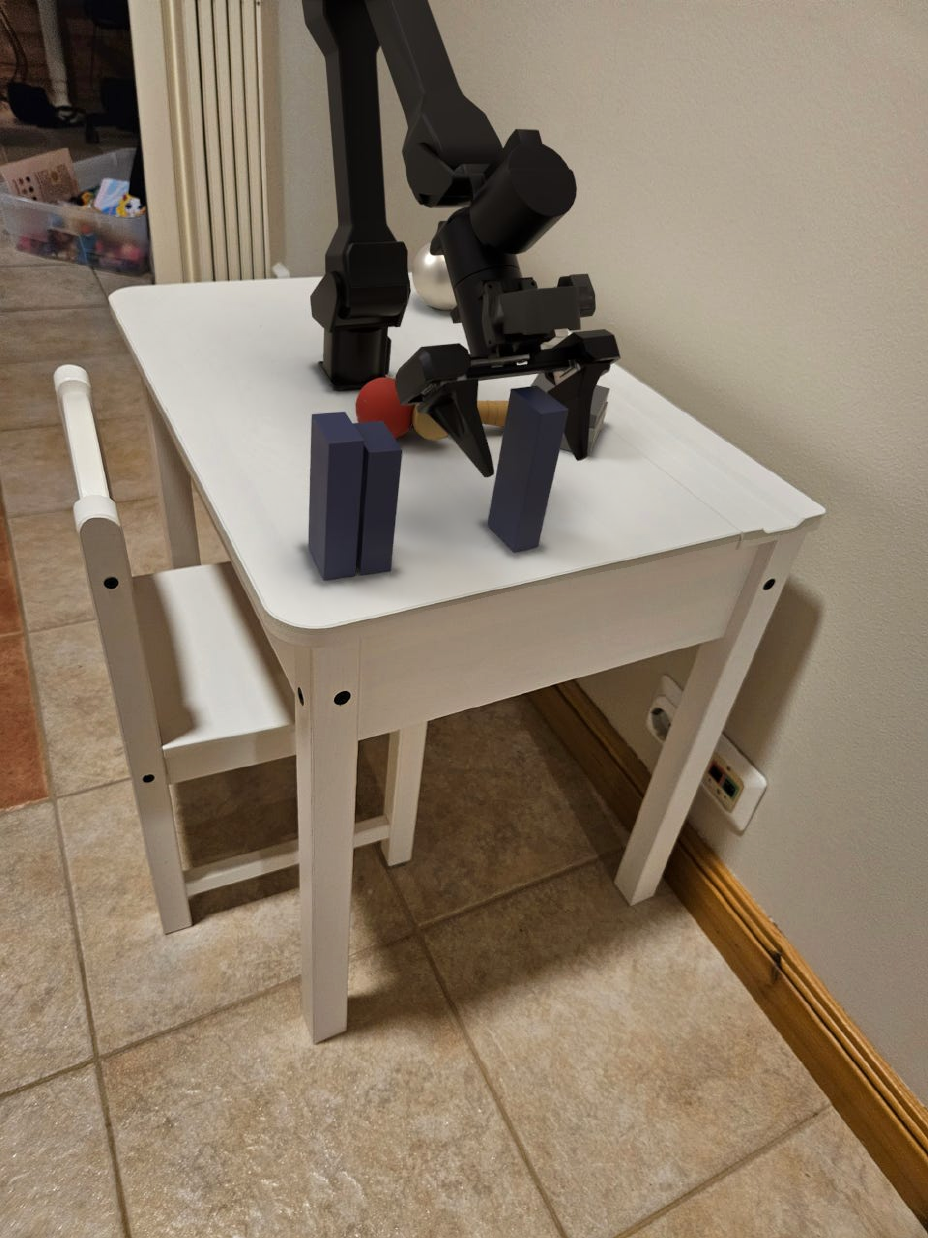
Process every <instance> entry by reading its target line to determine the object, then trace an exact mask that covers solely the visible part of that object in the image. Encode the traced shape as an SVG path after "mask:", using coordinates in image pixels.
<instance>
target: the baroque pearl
mask: <svg viewBox="0 0 928 1238" xmlns="http://www.w3.org/2000/svg"><path fill="white" fill-rule="evenodd" d="M430 245H431V241H429V242H428V243H426V244H425V245H423V246H422V248H421V249H420V250H419V251H418V252H417V254H416V255H415V258H414V261H413V263H412V268H411V279H412V284H413V287H414V290H415V292H416V294H417V295H418V297H419V298H420V299H421V300H422V301H423V302H424V303H425V304H427V305H428V306H429V307H432V308H434V309H438V310H443V311H445V310H446V311H447V310H448V311H451V310H453V309H454V308H455V307H456V306H457V303H456V300H455V296H454V292H453V289H452V285H451V281H450V278H449V274H448V270H447V266H446V263H445V259H444V255H439V256H432V255H431V254H430Z"/></svg>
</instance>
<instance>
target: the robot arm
mask: <svg viewBox="0 0 928 1238" xmlns="http://www.w3.org/2000/svg"><path fill="white" fill-rule="evenodd" d="M301 6H302V13H303V20H304V24H305V25H304V26H305V27H306V28H307V30H308V32H309V33H310V35H311V37H312V38H313V40H314V42H315V44H316V45H317V47H318V48H319V51H320V52H321V54H322V55H323V58H324V62H325V75H326V86H327V87H326V88H327V100H328V101H327V102H328V111H329V112H328V113H329V125H330V137H331V148H332V149H331V150H332V151H331V152H332V163H333V177H334V187H335V199H336V213H337V228H336V229H335V232H334V234H333V236H332V238H331V241H330V243H329V245H328V247H327V249H326V252H325V254H324V275H323V276H322V277H321V280H320V281H319V282H318V284H317V285H316V287H315V288H314V290H313V292H312V293H311V294H310V295H309V296H310V298H309V301H310V310H311V317H312V319H313V320H315V321H316V322H317V323H318V324H319V325H320V326H321V327H322V328H323V345H322V346H323V347H322V349H323V350H322V360H318V361H317V367H318V368H319V371H320V372H321V374H322V375H323V376H324V377H325V379H326V380H327V382H328V383H329V385H330V386H331V388H332V389H333V390H353V389H362V388H363V387H364V386H365V385H366V384H367V383H368V382H370V381H372V380H374V379H377V378H383V377H387V376H388V374H389V373H390V364H391V352H392V342H393V341H392V338H391V337H390V336H389V328H401V326H402V323H403V320H404V316H405V313H406V310H407V307H408V303H409V300H410V297H411V292H412V289H411V280H410V276H409V275H410V274H409V268H408V266H409V263H408V260H409V258H408V255H409V251H408V248H407V246H406V243H405V241H403V240H401V241H399V240H397V238H396V237H395V235H394V233H393V232H392V230H391V228H390V227H389V226H388V225H389V224H388V221H387V209H386V207H387V205H386V189H385V173H384V155H383V140H382V123H381V109H380V108H381V107H380V104H381V103H380V91H379V90H380V89H379V88H380V87H379V74H378V73H379V72H378V53H379V50H380V48H381V51H382V54H383V57H384V61H385V62H386V65H387V68H388V71H389V73H390V77H391V79H392V83H393V85H394V88H395V90H396V94H397V97H398V100H399V102H400V105H401V108H402V111H403V115H404V117H405V122H406V126H407V129H406V130H407V131H406V134H405V138H404V141H403V145H402V149H401V154H402V159H403V162H404V167H405V176H406V182H407V184H408V187H409V188H410V190H411V193H412V195H413V197H414V199H415V201H416V202H417V203H418V204H419V205H420V206H424V207H427V208H431V209H445V208H447V209H448V208H452V209H453V208H455V209H456V208H458V209H457V210H455V211H453V212H452V213H451V215H450V216H449V217H448V218H447V219H446V220H439V221H438V222H437V229H436V232H435V234H434V236H433V237H432V239H431V240H430V242H431V245H430V254H431V255H432V256H439V255H444V259H445V263H446V266H447V270H448V274H449V278H450V281H451V285H452V289H453V292H454V296H455V300H456V303H457V306H456V307H455V308H454V309H451V310H450V312H449V314H450V317H451V321H452V324H461V325H462V329H463V332H464V337H465V340H466V344H467V347H468V348H466V347H465V346H464V345H462V344H461V343H460V342H457V343H446V344H435V345H426V346H420V347H419V348H418V350H416V351H415V352H414V353H413V354H412V355H411V356H410V357H409V358H408V359H407V360H406V361H405V362H404V363H403V364H402V365H401V366H400V367H399V368H398V370H397V372H396V374H395V378H394V379H395V388H396V391H397V395H398V399H399V403H400V405H403V406H407V405H415V404H419V405H418V406H417V407H416V409H417V412H418V414H428V415H429V416H430V417H431V418H432V419H433V420H434V421H435V422H436V423H437V424H438V425H439V426H440V427H441V428H442V429H443V430H444V431H445V432H446V433H447V434H448V436H449V438H451V440H453V442H454V443H455V444H456V445H457V446H458V448H459V449H460V450H461V451H462V452H463V454H464V455H465V456H466V457H467V459H468V460H469V461H470V462H471V464H472V465H473V466H474V467H475V468H476V469H477V471H478V472H479V473H480V474H481V476H482V477H483V478H485V479H486V478H487V479H488V478H491V477H492V476H494V474H495V468H494V462H493V461H494V460H493V457H492V452H491V448H490V445H489V441H488V439H487V435H486V431H485V428H484V424H482V421H481V417H480V414H479V410H478V406H477V401H478V397H479V395H478V393H479V382H481V381H491V380H498V379H507V378H516V377H523V376H524V377H525V376H532V375H538V374H541V373H544V374H545V378H546V379H547V380H548V381H549V382H551V383H552V384H553V385H554V386H555V387H553V388H552V389H550V390H549V391H547V393H548V394H549V395H550V396H552V397H553V398H554V399H555V400H557V401H558V402H559V403H561V404H562V405H563V406H564V407H566V408H567V409H568V415H567V419H566V424H565V428H564V435H565V438H566V440H567V443H568V445H569V447H570V449H571V451H570V452H571V453H572V455H573V456H574V459H575V460H576V461H577V462H580V461H583V460H585V459H586V458H587V457H588V456H587V452H588V439H589V425H590V412H591V404H592V398H593V393H594V389H595V387H596V385H598V382H599V381H600V378H601V377H604V375H606V374H608V373H609V372H610V370H611V365H613V364H615V363H616V362H618V361H619V360H621V359H622V356H621V353H620V349H619V346H618V342H617V338H616V337H615V334H613V333H612V332H610V331H609V330H607V329H606V328H601V329H590V330H582V326H581V324H582V323H581V318H588V317H589V318H590V317H592V316H594V314H595V312H596V310H597V304H596V291H595V290H594V285H593V284H592V280H591V278H590V276H589V273H575V274H574V273H573V274H569V275H561V276H559V278H558V279H557V283H558V284H557V287H554V286H553V287H554V288H553V287H541V288H539V287H538V283H537V281H536V280H535V279H534V277H533V276H528V277H523V274H522V271H521V267H520V263H519V259H518V256H517V255H520V254H523V253H526V252H527V251H529V250H530V249H531V248H533V246H534V245H536V243H538V242H539V241H540V239H542V238H543V237H544V236H545V235H546V234H547V233H548V232H549V231H550V230H551V229H552V228H553V227H554V226H555V225H556V224H557V223H558V222H559V221H560V220H561V219H563V217H564V216H566V214H567V213H568V212H569V211H570V210H571V209H572V208H573V206H574V204H575V202H576V199H577V191H578V186H577V180H576V176H575V173H574V171H573V170H572V169H571V168H570V167H569V165H568V164H567V162H566V161H565V160H564V159H563V157H562V156H561V155H560V154H559V153H558V152H557V151H555V150H554V149H553V148H552V147H550V146H548V145H547V144H544V143H543V140H542V137H541V132H540V130H539V129H536V128H535V129H532V128H531V129H529V128H515V129H514V130H513V132H512V133H511V134H510V136H508V137H507V140H506V141H505V144H504V146H503V144H502V142H501V140H500V138H499V136H498V134H497V133H496V130H495V129H494V127H493V125H492V123H491V121H490V120H489V118H488V115H487V114H486V113H485V112H484V111H483V110H482V109H480V107H478V106H477V105H476V104H475V103H474V102H472V101H471V100H470V99H469V98H468V97H466V95H465V94H464V92H463V91H462V89H461V87H460V84H459V81H458V79H457V76H456V73H455V70H454V67H453V65H452V62H451V60H450V57H449V55H448V51H447V49H446V46H445V44H444V40H443V38H442V35H441V32H440V28H439V27H438V24H437V22H436V19H435V16H434V14H433V10H432V8H431V5H430V2H429V0H301ZM557 329H567V330H568V331H570V332H572V333H570V334H568V335H569V336H567V337H566V338H565V339H563V340H562V341H561V342H559V343H558V344H557V345H555V346H554V347H553V348H550V349H542V348H541V345H542V344H543V343H546V342H550V341H551V340H552V339H553V338H555V337H556V333H555V330H557Z"/></svg>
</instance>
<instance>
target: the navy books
mask: <svg viewBox="0 0 928 1238" xmlns="http://www.w3.org/2000/svg"><path fill="white" fill-rule="evenodd" d="M310 421H311V423H310V424H311V425H310V428H311V429H310V460H309V461H310V462H309V463H310V465H309V469H310V470H309V498H308V499H309V500H308V501H309V502H308V503H309V504H308V536H307V537H308V539H307V541H308V543H307V548H308V551H309V553H310V555H311V557H312V559H313V561H314V563H315V565H316V567H317V569H318V571H319V574H320V575H321V578H322V580H323V581H328V580H336V579H341V578H348V577H349V578H350V577H355V576H356V569H357V571H358V574H359V576H365V575H371V574H372V575H373V574H379V573H384V572H386V573H387V572H391V571H392V563H393V553H394V552H393V551H394V543H395V533H396V524H397V523H396V521H397V512H398V511H397V510H398V503H399V493H400V492H399V491H400V481H401V471H402V461H403V449H404V448H402V446H401V445H400V444H399V442H398V441H397V438H396V439H395V438H394V437H393V435H392V434H391V432H390V431H389V429H388V428H387V427H386V425H385V424H384V422H383V421H377V422H363V423H358V422H353V421H352V420H351V418H350V417H349V415H348V413H347V412H346V411H335V412H321V413H312V414H311V420H310Z"/></svg>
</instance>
